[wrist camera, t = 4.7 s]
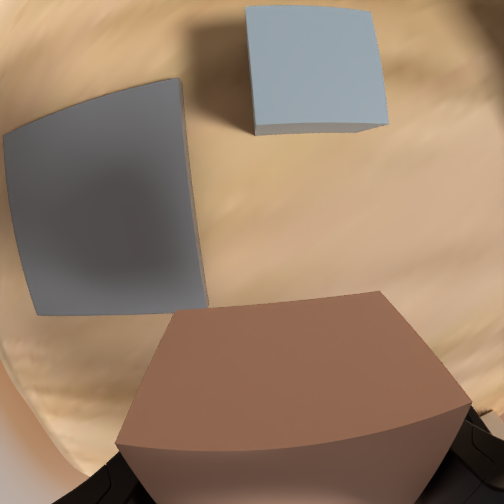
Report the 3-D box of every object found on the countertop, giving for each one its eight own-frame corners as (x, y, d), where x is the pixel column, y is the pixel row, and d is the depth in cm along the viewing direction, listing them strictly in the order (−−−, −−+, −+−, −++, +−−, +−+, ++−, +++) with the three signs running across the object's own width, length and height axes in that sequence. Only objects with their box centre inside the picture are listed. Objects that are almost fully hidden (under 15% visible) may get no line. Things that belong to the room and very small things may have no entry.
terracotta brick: (360, 425, 10) (395, 527, 5) (210, 440, 10) (196, 549, 6) (379, 291, 8) (472, 402, 4) (175, 309, 9) (114, 443, 4)
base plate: (209, 304, 20) (207, 310, 19) (43, 309, 20) (37, 315, 19) (181, 81, 16) (178, 77, 15) (11, 135, 16) (3, 135, 15)
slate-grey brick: (354, 133, 17) (388, 124, 12) (255, 136, 17) (255, 125, 12) (343, 44, 15) (370, 11, 10) (246, 44, 15) (245, 6, 10)
